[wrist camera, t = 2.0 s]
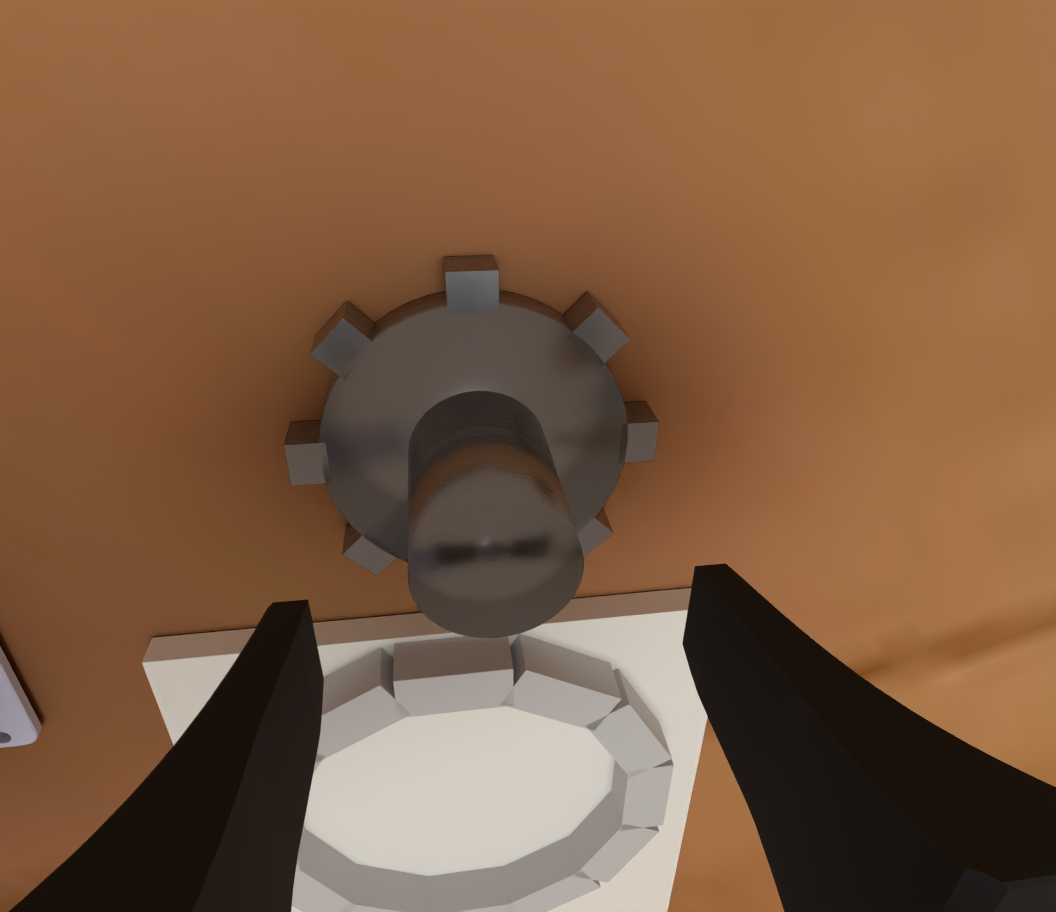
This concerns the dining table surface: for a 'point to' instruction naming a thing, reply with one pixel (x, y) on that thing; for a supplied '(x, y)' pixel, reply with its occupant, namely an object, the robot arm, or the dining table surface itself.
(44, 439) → the dining table surface
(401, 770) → the carrier plate
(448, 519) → the gear
